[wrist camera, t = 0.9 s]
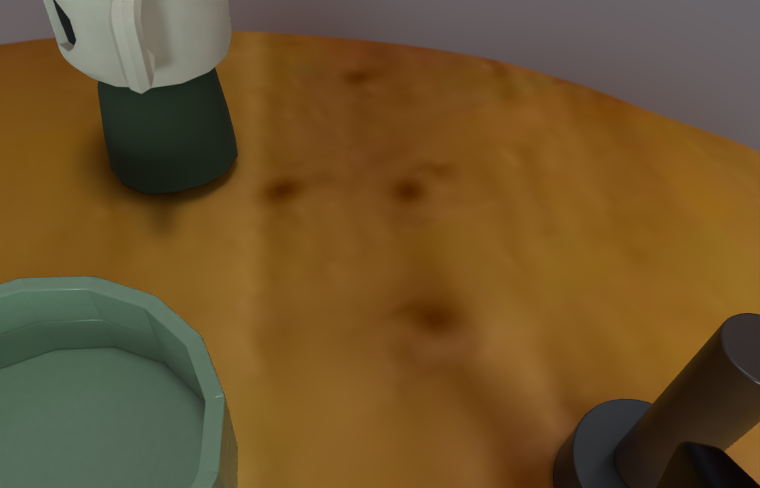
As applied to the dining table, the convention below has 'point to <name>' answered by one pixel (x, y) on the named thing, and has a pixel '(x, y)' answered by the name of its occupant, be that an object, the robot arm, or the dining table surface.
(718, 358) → the grey peg stand
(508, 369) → the dining table surface
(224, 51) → the character mug
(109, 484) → the bowl
